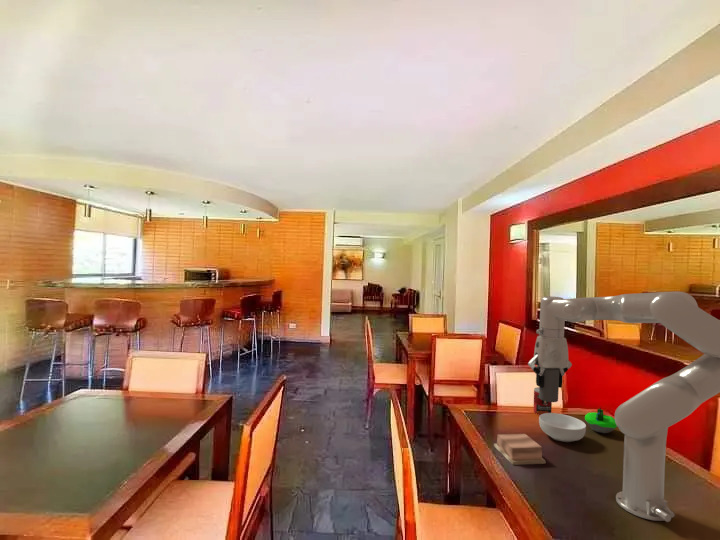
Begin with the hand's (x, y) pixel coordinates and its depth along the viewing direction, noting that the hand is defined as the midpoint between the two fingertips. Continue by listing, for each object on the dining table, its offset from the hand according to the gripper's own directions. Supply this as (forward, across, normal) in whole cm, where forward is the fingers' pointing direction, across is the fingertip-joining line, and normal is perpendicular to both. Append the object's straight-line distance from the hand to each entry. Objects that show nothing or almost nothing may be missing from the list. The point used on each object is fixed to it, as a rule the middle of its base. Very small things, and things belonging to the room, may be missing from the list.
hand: (548, 385), depth 132 cm
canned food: (+29, +29, +47) cm, 62 cm away
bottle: (+5, 0, 0) cm, 5 cm away
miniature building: (+28, +42, +26) cm, 57 cm away
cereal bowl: (+28, +21, +21) cm, 41 cm away
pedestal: (+28, -4, +10) cm, 30 cm away
